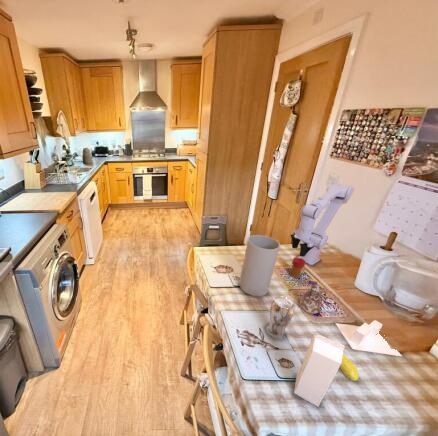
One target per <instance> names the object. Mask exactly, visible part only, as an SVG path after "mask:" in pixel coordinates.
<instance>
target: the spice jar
mask: <svg viewBox="0 0 438 436" xmlns="http://www.w3.org/2000/svg"><path fill="white" fill-rule="evenodd" d="M302 270H303V268H298V267H295V266H294V265H293V264H292V266H291V269H290V273H289V275H290V276H291V278H294V279H299V278H300V277H301V273H302Z"/></svg>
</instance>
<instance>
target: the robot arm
mask: <svg viewBox="0 0 438 436" xmlns="http://www.w3.org/2000/svg"><path fill="white" fill-rule="evenodd" d="M325 189H326V190H325V192H324V194H323V195H321V196H318V197H316V198H315V199H313V200H312V202H310V203H308V204H304V205H303V206H302V208H301V209H300V221H299V225H298V228H297V229H293V231H292V234H290V239H291V248H292V249H298V247H300V250H299V256H296V258H301V259H303V260H305V262H306V263H305V264H308V265H310V266H313V265H315V264H317V263H318V262H319V261H321V259H320V256H321V253H322V250H323V249H324V248H325V246H326V245H327V242H328V240H329V236H328V234H327V233H326V231H327V229H328V228H329V226H330V225H331V223H332V221H333V219H334V218H335V216H336V214H337V213H338V211H339V209H340V208H341V207H342V205H344V204H348V202H349V201H350V199H351V197H352V196H353V194H354V191H355V188H354V186H353V185H347V184H341V183H337V182H332V181H331V182H330V183H328V185H327V187H326V188H325ZM324 209H325V210H324ZM323 210H324V211H323ZM321 214H322V215H321ZM320 216H321V217H320ZM319 217H320V218H319ZM318 218H319V220H318V222H317V219H318ZM316 222H317V223H316ZM315 223H316V225H315ZM301 242H302V243H301Z"/></svg>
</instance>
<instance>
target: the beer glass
mask: <svg viewBox="0 0 438 436" xmlns="http://www.w3.org/2000/svg"><path fill="white" fill-rule="evenodd" d="M295 308H296V304H295V302H294V300H292V298H290V297H288V296H286V295H276V296H274V297H273V300H272V302H271V306H270V309H269V310H270V311H269V322H268V324H267V326H266V327H265V330H266V333H267V334H268V336H270V337H271V338H273V339H275V340H282V339H284V337H285V331H286V329H287V327H288V326H289V324H290V322H291V321H292V320H293V317H294V313H295Z"/></svg>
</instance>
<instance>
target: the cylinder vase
mask: <svg viewBox="0 0 438 436" xmlns="http://www.w3.org/2000/svg"><path fill="white" fill-rule="evenodd" d="M280 248H281V244H280V242H279V241H278V240H276V239H275V238H273V237H270V236H268V235H263V234H253V235H250V236H249V237H248V238H247V242H246V247H245V252H244V256H243V263H242V267H241V270H240V271H241V272H240V277H239V281H238V285H239V287H240V289H241V291H243V292H244V293H246V294H248V295H250V296H253V297H264V296H265V295H267V294H268V292H269V288H270V285H271V281H272V277H273V274H274V270H275V266H276V263H277V259H278V255H279V252H280Z"/></svg>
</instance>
